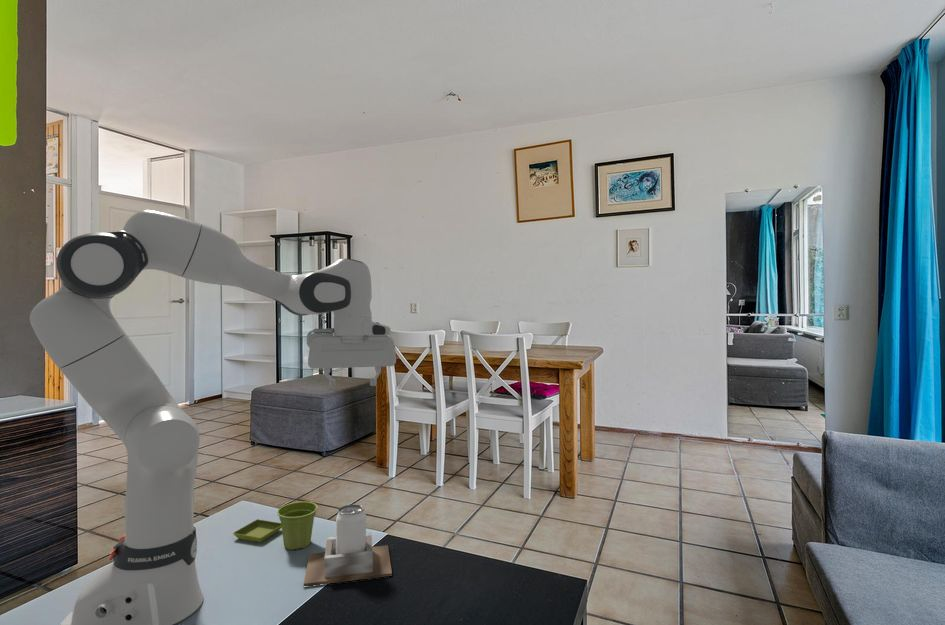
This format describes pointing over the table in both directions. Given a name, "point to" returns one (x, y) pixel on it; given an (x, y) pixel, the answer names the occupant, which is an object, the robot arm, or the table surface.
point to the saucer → (258, 530)
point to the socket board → (347, 564)
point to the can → (351, 529)
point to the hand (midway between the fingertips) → (352, 386)
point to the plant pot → (297, 523)
